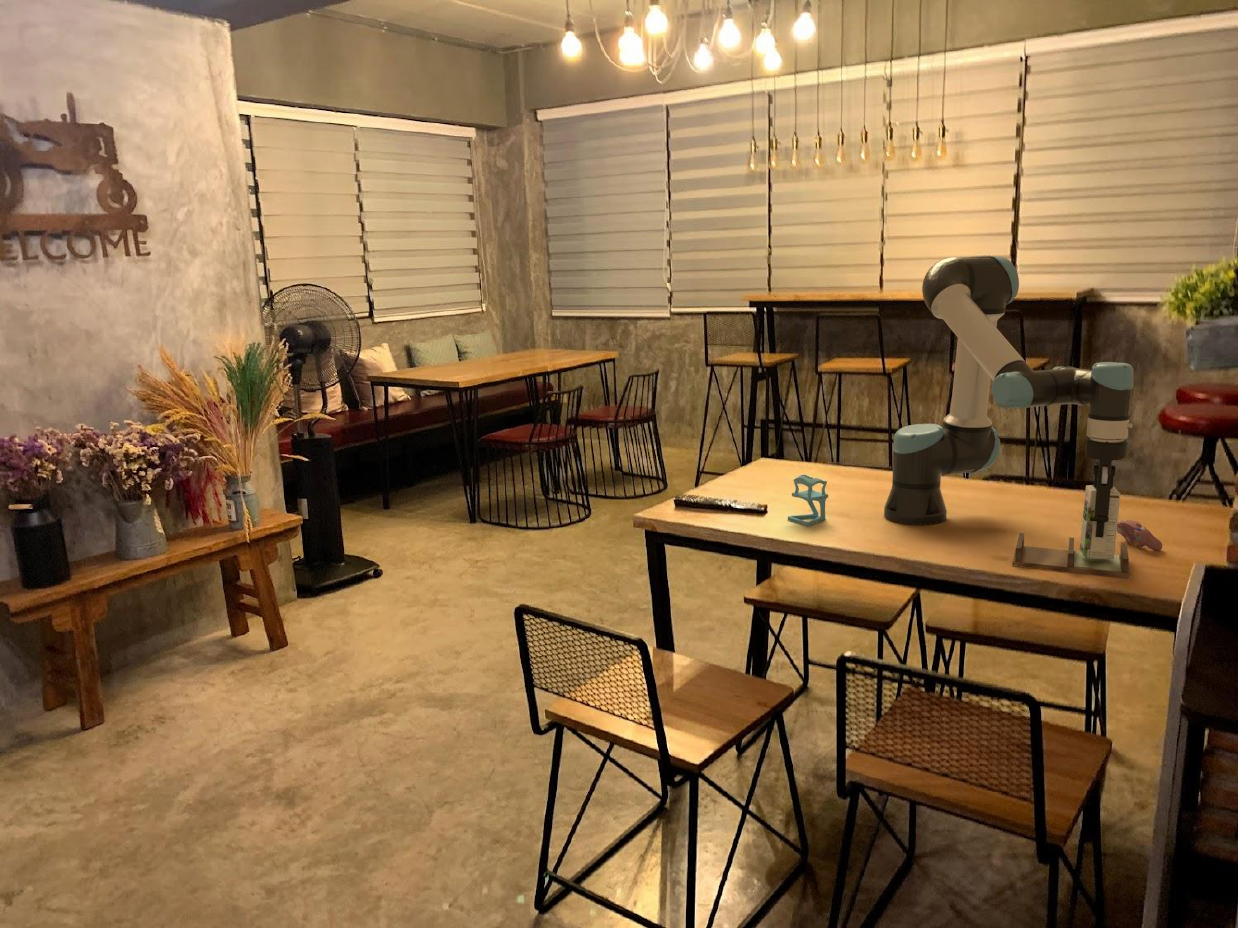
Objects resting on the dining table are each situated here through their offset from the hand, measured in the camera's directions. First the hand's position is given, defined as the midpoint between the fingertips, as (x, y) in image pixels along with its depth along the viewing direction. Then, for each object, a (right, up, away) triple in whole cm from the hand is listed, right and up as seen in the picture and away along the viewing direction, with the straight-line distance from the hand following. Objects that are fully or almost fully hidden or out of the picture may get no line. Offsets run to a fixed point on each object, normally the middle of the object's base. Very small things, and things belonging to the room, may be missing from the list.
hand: (1097, 546), depth 192 cm
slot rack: (-4, -4, +3) cm, 7 cm away
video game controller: (+16, -1, +13) cm, 21 cm away
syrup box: (0, -2, +1) cm, 2 cm away
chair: (-52, +3, +41) cm, 66 cm away
